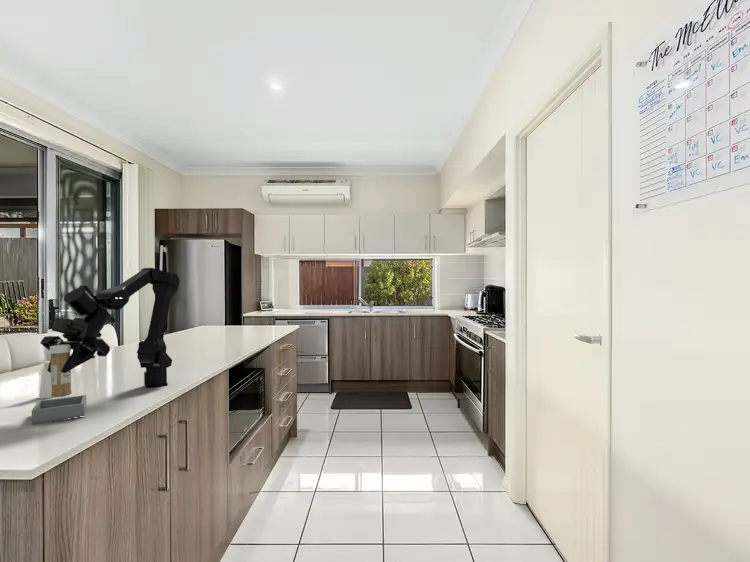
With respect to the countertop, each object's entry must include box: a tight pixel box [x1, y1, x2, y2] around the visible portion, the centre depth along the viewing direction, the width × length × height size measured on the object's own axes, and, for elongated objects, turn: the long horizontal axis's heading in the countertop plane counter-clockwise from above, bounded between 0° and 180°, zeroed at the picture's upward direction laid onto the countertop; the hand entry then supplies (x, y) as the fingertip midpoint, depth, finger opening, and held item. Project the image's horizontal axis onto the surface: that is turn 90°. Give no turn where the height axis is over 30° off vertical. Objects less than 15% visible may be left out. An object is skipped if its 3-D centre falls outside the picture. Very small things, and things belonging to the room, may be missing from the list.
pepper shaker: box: [38, 360, 53, 399], centre depth 139 cm, size 5×5×11 cm
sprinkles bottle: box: [49, 345, 72, 398], centre depth 118 cm, size 5×5×13 cm
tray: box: [31, 394, 87, 426], centre depth 118 cm, size 11×11×4 cm
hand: (55, 372), depth 117 cm, fingers closed on sprinkles bottle, 4 cm apart
